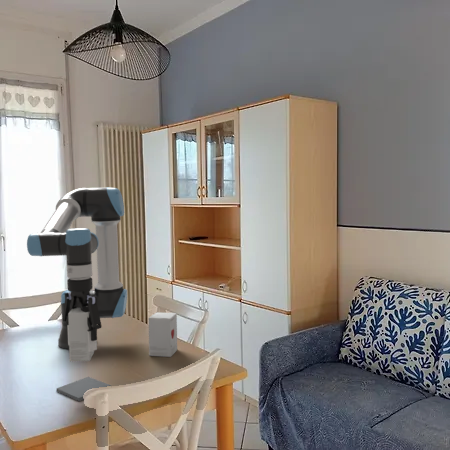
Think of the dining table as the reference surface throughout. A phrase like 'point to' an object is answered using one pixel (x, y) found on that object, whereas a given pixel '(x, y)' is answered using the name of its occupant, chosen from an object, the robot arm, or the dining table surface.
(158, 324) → the supplement box
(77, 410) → the dining table surface
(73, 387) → the slate mat
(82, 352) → the skincare box
